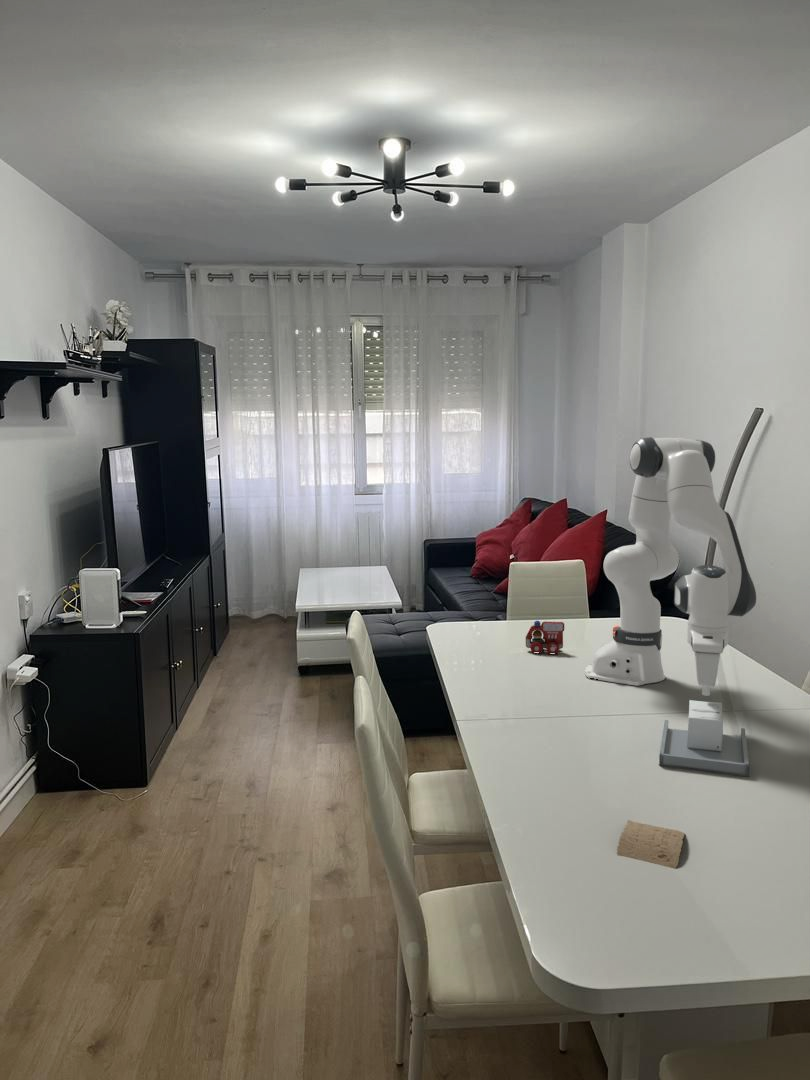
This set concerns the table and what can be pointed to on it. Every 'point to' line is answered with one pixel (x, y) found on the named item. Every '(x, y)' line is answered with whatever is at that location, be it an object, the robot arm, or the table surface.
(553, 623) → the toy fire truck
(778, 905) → the table surface
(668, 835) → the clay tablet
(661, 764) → the tray
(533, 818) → the table surface
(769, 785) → the table surface
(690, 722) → the supplement box
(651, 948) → the table surface
